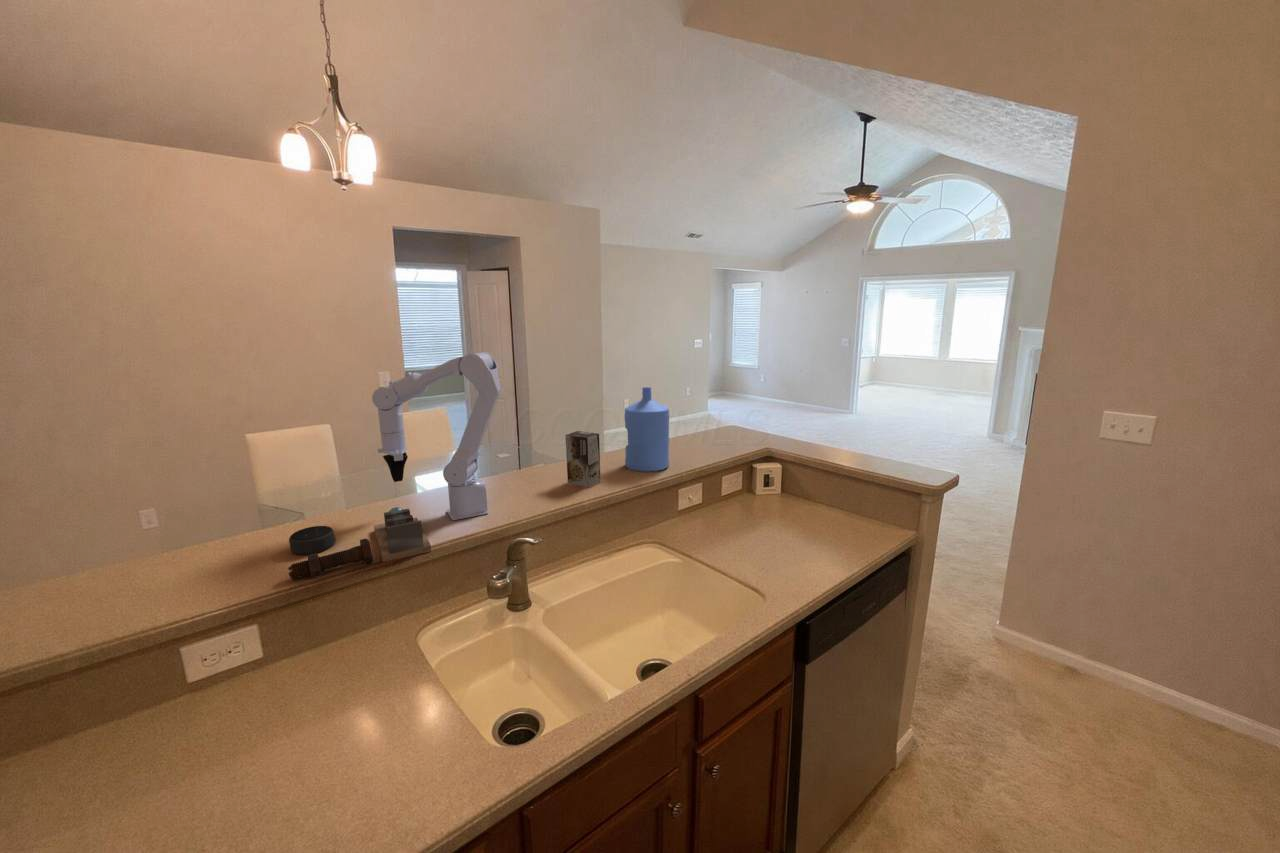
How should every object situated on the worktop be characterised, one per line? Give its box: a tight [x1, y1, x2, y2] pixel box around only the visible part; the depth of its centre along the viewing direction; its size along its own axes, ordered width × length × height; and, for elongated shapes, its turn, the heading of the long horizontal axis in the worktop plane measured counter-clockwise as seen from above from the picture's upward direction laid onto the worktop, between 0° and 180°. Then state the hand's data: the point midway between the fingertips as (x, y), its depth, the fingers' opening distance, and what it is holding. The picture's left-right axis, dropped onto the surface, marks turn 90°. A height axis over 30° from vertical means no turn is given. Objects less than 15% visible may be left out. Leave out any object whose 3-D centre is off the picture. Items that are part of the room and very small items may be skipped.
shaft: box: [388, 506, 404, 525], centre depth 124 cm, size 15×4×4 cm, turn 31°
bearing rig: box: [373, 508, 432, 563], centre depth 124 cm, size 20×10×8 cm, turn 31°
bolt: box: [287, 537, 374, 580], centre depth 110 cm, size 6×5×15 cm
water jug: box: [624, 386, 670, 473], centre depth 182 cm, size 16×16×28 cm
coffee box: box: [564, 430, 601, 488], centre depth 165 cm, size 9×6×16 cm
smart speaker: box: [288, 525, 336, 556], centre depth 121 cm, size 9×9×4 cm
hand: (397, 480), depth 140 cm, fingers closed
